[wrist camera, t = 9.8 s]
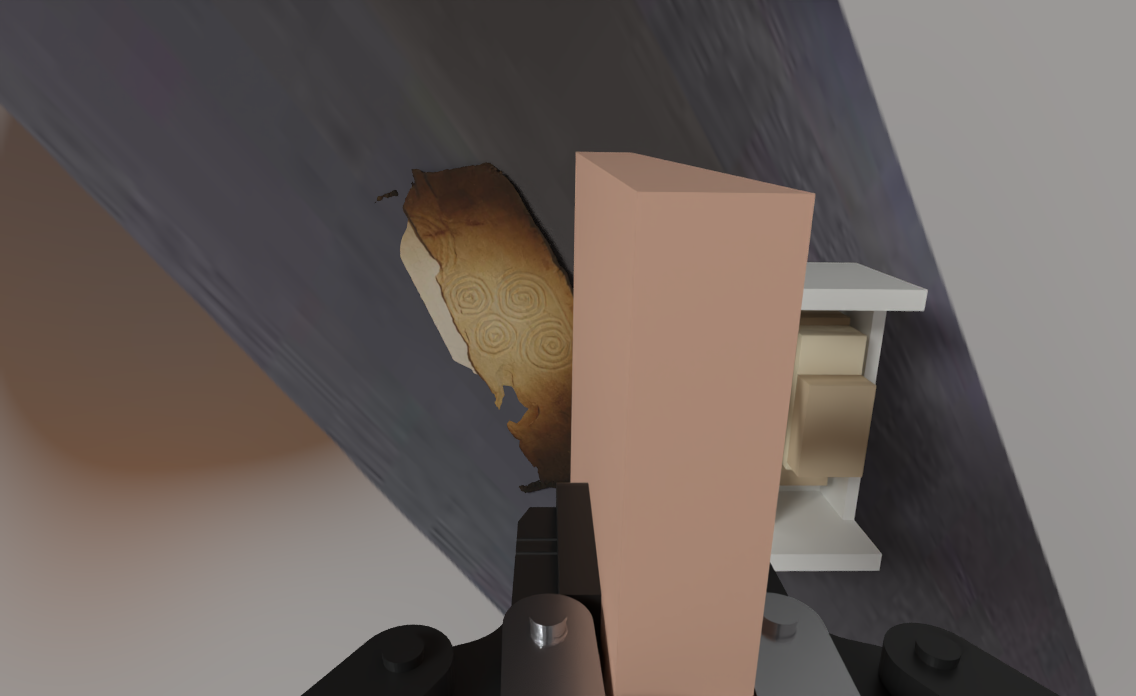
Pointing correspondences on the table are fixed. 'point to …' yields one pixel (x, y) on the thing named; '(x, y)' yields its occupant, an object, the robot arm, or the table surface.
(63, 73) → the table surface
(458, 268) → the parchment
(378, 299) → the table surface
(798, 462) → the offcut small
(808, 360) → the offcut mid
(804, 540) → the rack
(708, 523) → the board
